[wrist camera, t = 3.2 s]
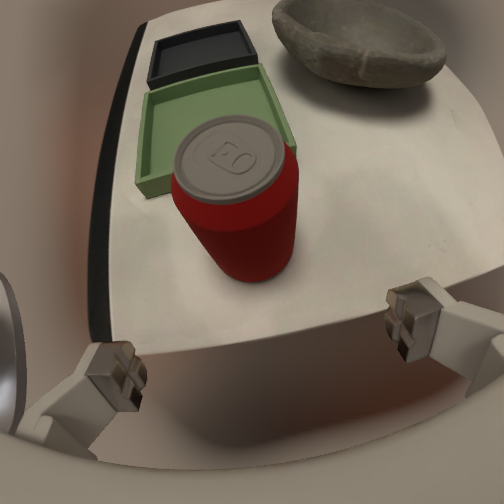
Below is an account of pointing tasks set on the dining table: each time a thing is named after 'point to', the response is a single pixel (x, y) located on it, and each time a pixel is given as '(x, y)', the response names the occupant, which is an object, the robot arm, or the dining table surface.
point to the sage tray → (199, 117)
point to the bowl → (359, 42)
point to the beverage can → (238, 194)
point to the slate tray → (200, 53)
